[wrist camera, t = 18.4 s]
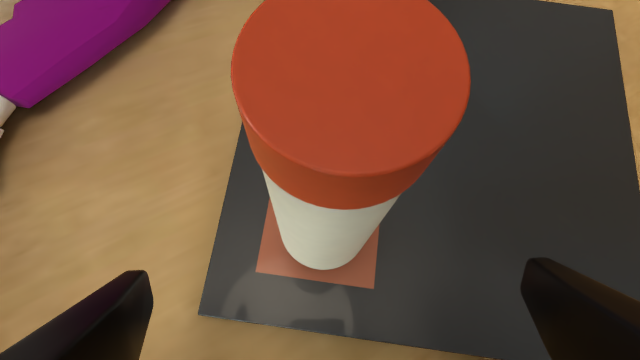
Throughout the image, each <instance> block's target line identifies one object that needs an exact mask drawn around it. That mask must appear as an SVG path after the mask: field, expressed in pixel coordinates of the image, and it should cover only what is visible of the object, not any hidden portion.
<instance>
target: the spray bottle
mask: <svg viewBox="0 0 640 360" xmlns="http://www.w3.org/2000/svg"><path fill="white" fill-rule="evenodd" d="M170 1H171V0H21V1H20V2H18V3H17V4H15V5H14V13H13V18H12V19H10V20H9V21H7V22H5V23H4V24H2V25H0V127H1V126H2V125H3V124H4V122H5V121H6V120H7V119H8V117H9V116H10V115H11V114H12V112H13V111H14V110H15V109H16V106H18V107H25V108H30V107H32V106H33V105H35V104H36V103H38V102H39V101H41V100H42V99H44V98H45V97H46V96H48V95H49V94H51V93H52V92H54V91H55V90H57V89H58V88H60V87H61V86H63V85H64V84H65V83H67V82H68V81H70V80H71V79H73V78H74V77H76V76H77V75H79V74H80V73H81V72H83V71H84V70H86V69H87V68H89V67H90V66H92V65H93V64H94V63H96V62H97V61H98V60H100V59H101V58H102V57H103V56H105V55H106V54H107V53H109V52H110V51H112V50H113V49H114V48H116V47H117V46H118V45H120V44H121V43H122V42H124V41H125V40H126V39H128V38H129V37H131V36H132V35H133V34H135V33H136V32H138V31H139V30H141V29H142V28H143V27H144V26H146V25H147V24H148V23H149V22H150V21H151V20H152V19H153V18H154V17H155V16H156V15H157V14H158V13H159V12H160V11H161V10H162V9H163V8H164V7H165V6H166V5H167V4H168V3H169V2H170ZM3 132H4V130H3V129H1V128H0V138H1V136H2V134H3Z"/></svg>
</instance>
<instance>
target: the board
mask: <svg viewBox="0 0 640 360" xmlns="http://www.w3.org/2000/svg"><path fill="white" fill-rule="evenodd" d="M428 1H429V2H430V3H432V4H433V5H434V6H435V7H436V8H437V9H439V10H440V11H441V13H442V14H443V15H444V16H445V17H446V18H447V19H448V20H449V22H450V23H451V24H452V26H453V27H454V28H455V30H456V32H457V33H458V35H459V37H460V39H461V41H462V43H463V45H464V48H465V51H466V53H467V57H468V62H469V66H470V79H471V84H470V96H469V100H468V104H467V108H466V110H465V113H464V115H463V117H462V120H461V122H460V123H459V125H458V127H457V128H456V130H455V131H454V133H453V134H452V136H451V137H450V138H449V140H448V141H447V142H446V144H445V145H444V146H443V147H442V149H441V150H440V151H439V153H438V154H437V155H436V157H435V158H434V159H433V160H432V162H431V163H430V164H429V166H428V167H427V168H426V170H425V171H424V172H423V173H422V175H421V176H420V177H419V178H418V179H417V180H416V182H415V183H413V184H412V185H411V186H410V187H409V188H408V189H407V190H405V191H404V192H402V193H401V195H400V196H399V197H398V199H397V200H396V201H395V203H394V204H393V206H392V207H391V208H390V210H389V211H388V212H387V214H386V215H385V217H384V218H383V219H382V221H381V222H380V224H379V225H378V226H377V228H376V229H375V230H374V232H373V233H372V235H371V236H370V237H369V239H368V240H367V241H366V243H365V244H364V246H363V247H362V248H361V250H360V251H359V252H358V254H357V255H356V256H355V257H354V258H353V259H352V260H351V261H349V262H348V263H346V264H345V265H343V266H341V267H338V268H334V269H329V270H319V269H313V268H310V267H307V266H305V265H303V264H301V263H300V262H298V261H297V260H295V259H294V258H293V257H292V256H291V255H290V253H289V252H288V251H287V249H286V248H285V246H284V243H283V241H282V238H281V234H280V231H279V227H278V223H277V220H276V216H275V213H274V209H273V206H272V202H271V199H270V195H269V192H268V188H267V185H266V181H265V178H264V174H263V171H262V168H261V167H260V165H259V163H258V162H257V160H256V158H255V156H254V154H253V152H252V150H251V147H250V144H249V141H248V137H247V134H246V131H245V128H244V125H243V121H242V126H241V130H240V134H239V139H238V143H237V147H236V151H235V156H234V160H233V164H232V169H231V173H230V177H229V182H228V186H227V190H226V195H225V199H224V203H223V207H222V212H221V216H220V220H219V225H218V229H217V233H216V238H215V242H214V246H213V251H212V255H211V259H210V263H209V268H208V272H207V276H206V281H205V285H204V289H203V294H202V298H201V302H200V306H199V311H198V315H202V316H209V317H215V318H222V319H229V320H236V321H243V322H249V323H256V324H263V325H270V326H276V327H283V328H290V329H297V330H304V331H310V332H317V333H324V334H331V335H338V336H344V337H351V338H358V339H365V340H372V341H378V342H385V343H392V344H399V345H406V346H412V347H419V348H426V349H433V350H439V351H446V352H453V353H460V354H467V355H473V356H480V357H487V358H494V359H501V360H552V359H551V358H550V356H549V354H548V352H547V350H546V348H545V346H544V344H543V342H542V339H541V337H540V335H539V333H538V331H537V328H536V326H535V324H534V322H533V319H532V317H531V315H530V313H529V311H528V308H527V306H526V304H525V302H524V300H523V297H522V295H521V291H520V285H521V280H522V277H523V273H524V269H525V265H526V262H527V260H528V259H530V258H535V257H547V258H550V259H552V260H554V261H556V262H558V263H560V264H562V265H564V266H567V267H569V268H571V269H573V270H575V271H577V272H579V273H581V274H583V275H585V276H588V277H590V278H592V279H594V280H596V281H598V282H600V283H602V284H604V285H606V286H609V287H611V288H613V289H615V290H617V291H619V292H621V293H623V294H625V295H628V296H630V297H632V298H634V299H636V300H638V301H640V190H639V183H638V176H637V170H636V163H635V156H634V150H633V143H632V137H631V130H630V123H629V117H628V110H627V103H626V97H625V90H624V83H623V77H622V70H621V63H620V57H619V50H618V44H617V37H616V30H615V24H614V17H613V11H612V10H607V9H599V8H592V7H584V6H577V5H569V4H562V3H554V2H546V1H539V0H428Z"/></svg>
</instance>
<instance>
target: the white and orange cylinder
mask: <svg viewBox="0 0 640 360" xmlns="http://www.w3.org/2000/svg"><path fill="white" fill-rule="evenodd" d="M231 80H232V88H233V92H234V95H235V99H236V102H237V105H238V109H239V112H240V115H241V118H242V121H243V125H244V128H245V131H246V134H247V137H248V141H249V144H250V147H251V150H252V152H253V154H254V156H255V158H256V160H257V162H258V163H259V165H260V167H261V168H262V171H263V174H264V178H265V181H266V185H267V188H268V192H269V195H270V199H271V202H272V206H273V209H274V213H275V216H276V220H277V223H278V227H279V231H280V234H281V238H282V241H283V243H284V246H285V248H286V249H287V251H288V252H289V253H290V255H291V256H292V257H293V258H294V259H295V260H297V261H298V262H300V263H301V264H303V265H305V266H307V267H310V268H313V269H319V270H329V269H334V268H338V267H341V266H343V265H345V264H346V263H348V262H349V261H351V260H352V259H353V258H354V257H355V256H356V255H357V254H358V252H359V251H360V250H361V248H362V247H363V246H364V244H365V243H366V241H367V240H368V239H369V237H370V236H371V235H372V233H373V232H374V230H375V229H376V228H377V226H378V225H379V224H380V222H381V221H382V219H383V218H384V217H385V215H386V214H387V212H388V211H389V210H390V208H391V207H392V206H393V204H394V203H395V201H396V200H397V199H398V197H399V196H400V195H401V193H402V192H404V191H405V190H407V189H408V188H409V187H410V186H411V185H412V184H413V183H415V182H416V180H417V179H418V178H419V177H420V176H421V175H422V173H423V172H424V171H425V170H426V168H427V167H428V166H429V164H430V163H431V162H432V160H433V159H434V158H435V157H436V155H437V154H438V153H439V151H440V150H441V149H442V147H443V146H444V145H445V144H446V142H447V141H448V140H449V138H450V137H451V136H452V134H453V133H454V131H455V130H456V128H457V127H458V125H459V123H460V122H461V120H462V117H463V115H464V113H465V110H466V108H467V104H468V100H469V96H470V84H471V79H470V66H469V62H468V57H467V53H466V51H465V48H464V45H463V43H462V41H461V39H460V37H459V35H458V33H457V32H456V30H455V28H454V27H453V26H452V24H451V23H450V22H449V20H448V19H447V18H446V17H445V16H444V15H443V14H442V13H441V11H440V10H439V9H437V8H436V7H435V6H434V5H433V4H432V3H430V2H429V1H428V0H266V1H264V2H263V3H262V4H261V5H260V6H259V7H258V8H257V9H256V10H255V11H254V12H253V13H252V14H251V16H250V17H249V19H248V20H247V21H246V23H245V24H244V26H243V28H242V30H241V32H240V34H239V36H238V38H237V41H236V44H235V47H234V50H233V56H232V61H231Z"/></svg>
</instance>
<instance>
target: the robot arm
mask: <svg viewBox="0 0 640 360" xmlns="http://www.w3.org/2000/svg"><path fill="white" fill-rule="evenodd" d="M520 291H521V295H522V297H523V300H524V302H525V304H526V306H527V308H528V311H529V313H530V315H531V317H532V319H533V322H534V324H535V326H536V328H537V331H538V333H539V335H540V337H541V339H542V342H543V344H544V346H545V348H546V350H547V352H548V354H549V356H550V358H551V359H552V360H640V301H638V300H636V299H634V298H632V297H630V296H628V295H625V294H623V293H621V292H619V291H617V290H615V289H613V288H611V287H609V286H606V285H604V284H602V283H600V282H598V281H596V280H594V279H592V278H590V277H588V276H585V275H583V274H581V273H579V272H577V271H575V270H573V269H571V268H569V267H567V266H564V265H562V264H560V263H558V262H556V261H554V260H552V259H550V258H547V257H535V258H530V259H528V260H527V262H526V265H525V269H524V273H523V277H522V280H521V285H520ZM152 309H153V295H152V291H151V286H150V282H149V278H148V274H147V272H146V271H144V270H132V271H126V272H124V273H123V274H121V275H120V276H118V277H116V278H115V279H113V280H112V281H110V282H109V283H107V284H106V285H104V286H103V287H101V288H100V289H98V290H97V291H95V292H94V293H92V294H91V295H89V296H88V297H86V298H84V299H83V300H81V301H80V302H78V303H77V304H75V305H74V306H72V307H71V308H69V309H68V310H66V311H65V312H63V313H62V314H60V315H59V316H57V317H55V318H54V319H52V320H51V321H49V322H48V323H46V324H45V325H43V326H42V327H40V328H39V329H37V330H36V331H34V332H33V333H31V334H30V335H28V336H26V337H25V338H23V339H22V340H20V341H19V342H17V343H16V344H14V345H13V346H11V347H10V348H8V349H7V350H5V351H4V352H2V353H1V354H0V360H139V357H140V353H141V350H142V346H143V342H144V339H145V335H146V331H147V328H148V324H149V320H150V317H151V313H152Z"/></svg>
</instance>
